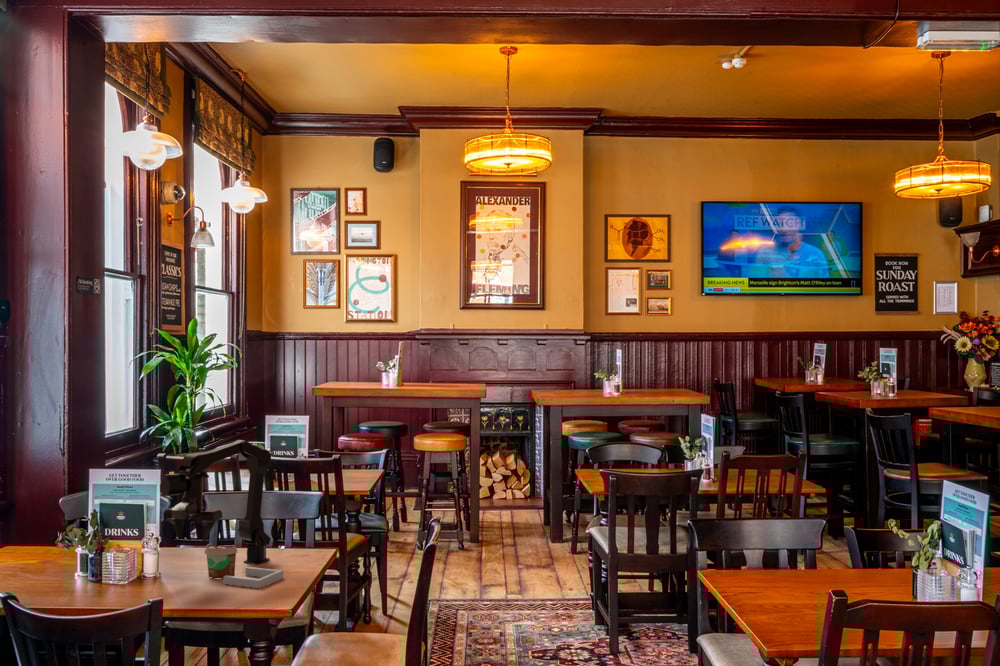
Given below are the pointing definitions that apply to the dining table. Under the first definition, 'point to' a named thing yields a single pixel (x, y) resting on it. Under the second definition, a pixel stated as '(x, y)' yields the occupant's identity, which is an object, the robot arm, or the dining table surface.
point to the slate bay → (266, 574)
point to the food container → (220, 560)
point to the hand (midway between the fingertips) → (192, 540)
